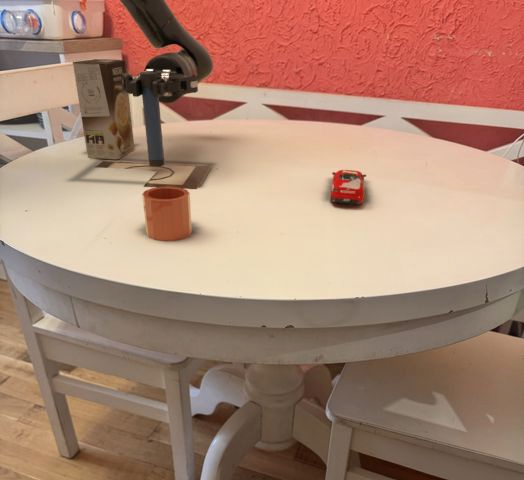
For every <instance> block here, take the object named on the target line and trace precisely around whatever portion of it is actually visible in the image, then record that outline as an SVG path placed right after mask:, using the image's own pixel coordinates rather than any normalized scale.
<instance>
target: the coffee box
mask: <svg viewBox="0 0 524 480" xmlns="http://www.w3.org/2000/svg"><path fill="white" fill-rule="evenodd" d="M72 66H73V73H74V78H75V87H76V91H77V98H78V104H79V111H80V116H81V123H82V130H83V136H84V142H85V148H86V156H87V158H89V159H90V158H91V159H104V160H120V159H121V158H122V157H123V158H124V157H125V156H126V155H128V154H129V153H131V152H133V151H134V150H135V141H134V140H135V139H134V131H133V130H134V129H133V121H132V111H131V102H130V94H129V93H126V92H125V91H124V90H123V88H122V80H121V73H123V72H126V73H127V67H126V66H127V65H126V60H125V59H109V58H108V59H107V58H102V59H101V58H100V59H98V58H93V59H85V60H77V61H72Z"/></svg>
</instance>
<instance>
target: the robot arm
mask: <svg viewBox="0 0 524 480" xmlns="http://www.w3.org/2000/svg"><path fill="white" fill-rule="evenodd" d="M118 1H119V2H120V3H121V4H122V6H123V7H124V8H125V10H126V11H127V13H128V14H129V15H130V16H131V18H132V20H133V21H134V22H135V25H137V27H138V28H139V30H140V31H141V32H142V34H143V35H144V37H145V38H146V39H147V41H148V43H149V44H150V46H152V47H153V48H154V49H156V50H162V49H164V48H166V47H169V46H173V45H174V46H178V47H180V48H181V49H180V50H178V51H174V52H164V53H162V54H159V55H157V56H153V57H152V58H150V59H149V60H148V61H147V63H146V65H145V67H144V69H143V70H142V72H156V73H157V78H158V80H155V81H153V96H154V97H156V98H159V103H162V104H173V103H175V102H177V101H178V100H180V99H181V98H182V97H184V96H185V95H187V94H195V93H198V91H199V84H200V83H201V82H203V81H204V80H206V79H207V78H209V77H210V76H211V75H212V73H213V71H214V62H213V57H212V56H211V53H210V52H209V51H208V50H207V48H205V46H204V45H203V44H202V43H200V42H199V40H197V39H196V38H195V37H194V35H193V36H192V34H190V32H189V31H188V30H187V29H186V28H185V27H184V26H183V25H182V23H181V22H180V21H179V19H177V17H176V16H175V14H174V12H173V10H172V9H171V8H170V6H169V4H168V3H167V1H166V0H118ZM121 80H122V88H123V90H124V91H125V92H126V93H129V95H132V97H134V98H139V97H140V96H142V89H141V82H140V72H139V73H137V75H136V76H134V77H133V75H132V73H129V72H127V71H126V72H123V73H121Z"/></svg>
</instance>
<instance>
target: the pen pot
mask: <svg viewBox="0 0 524 480" xmlns="http://www.w3.org/2000/svg"><path fill="white" fill-rule="evenodd" d="M141 196H142V204H143V213H144V223H145V231H146V233H145V234H146V235H147V237H148V238H150V239H152V240H155V241H161V242H175V241H181V240H184V239H186V238H189V237H190V236H191V235H192V230H193V229H192V211H191V193H190V191H189V190H188V189H182V188H178V187H150V188H149V189H146V190H144V191H143V193H142V194H141Z"/></svg>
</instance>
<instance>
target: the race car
mask: <svg viewBox="0 0 524 480" xmlns="http://www.w3.org/2000/svg"><path fill="white" fill-rule="evenodd" d="M331 175H332V176H333V177H332V182H331V189H330V199H329V201H330V202H331V203H337V204H348V205H349V204H351V205H352V204H353V205H363V203H364V199H365V191H366V189H365V178H366V177H367V174H366V173H365V174H363V173H362V172H361V171H359V170H354V169H353V170H352V169H339V170H337V171H336V172H334V171H333V172H331Z"/></svg>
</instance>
